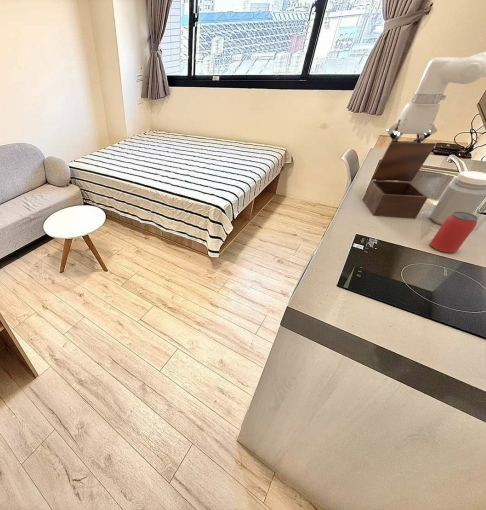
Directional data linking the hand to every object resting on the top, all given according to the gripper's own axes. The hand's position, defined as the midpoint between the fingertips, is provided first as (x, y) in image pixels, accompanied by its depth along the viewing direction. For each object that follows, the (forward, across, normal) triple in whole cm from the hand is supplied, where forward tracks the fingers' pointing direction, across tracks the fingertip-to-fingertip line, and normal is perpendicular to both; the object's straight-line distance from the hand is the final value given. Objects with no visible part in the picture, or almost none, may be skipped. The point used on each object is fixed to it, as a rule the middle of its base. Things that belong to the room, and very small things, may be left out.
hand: (401, 150), depth 109 cm
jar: (+21, -16, +18) cm, 32 cm away
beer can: (+21, -7, +38) cm, 43 cm away
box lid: (+4, 0, +4) cm, 6 cm away
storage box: (+20, 0, +10) cm, 23 cm away
